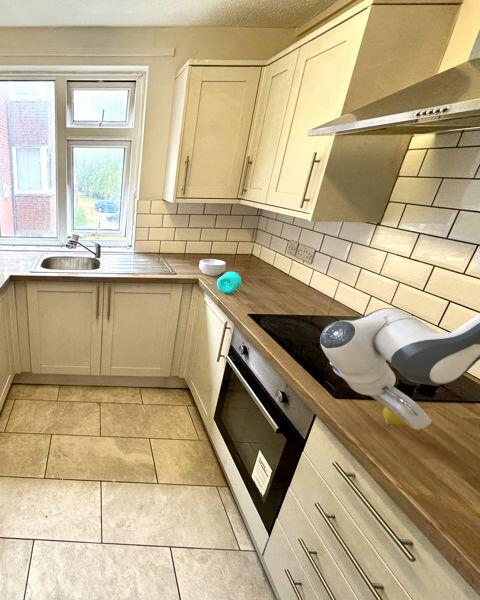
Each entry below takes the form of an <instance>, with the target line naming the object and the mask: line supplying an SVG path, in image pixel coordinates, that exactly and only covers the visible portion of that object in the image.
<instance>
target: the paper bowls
mask: <svg viewBox="0 0 480 600" xmlns="http://www.w3.org/2000/svg"><path fill="white" fill-rule="evenodd" d="M226 266H227V262H226V261H224V260H221V259H214V258H204V259H203V258H202V259H201V260H200V261H199V266H198V268H199V270H201V272H202V274H204V275H205V276H212V277H213V276H215V277H217V276H220V275H221V273H223V272H225V271H226Z"/></svg>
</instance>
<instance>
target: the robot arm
mask: <svg viewBox="0 0 480 600" xmlns="http://www.w3.org/2000/svg"><path fill="white" fill-rule="evenodd" d="M476 271H477V273H478V274H479V276H480V253H479V254H478V257H477V260H476ZM319 343H320V347H321V349H322V351H323V354H325V356H326V358H327V359H328V361H329V365H330V366H331V367H332V369H333V368H334V369H335V370H336V371H337V372H339V373H340V374H341V376H342V377H343V378H342V377H341V378H342V379H343V380H344V382H346V383H347V384H348V386H349V388H351V389H352V390H353V391H354V392H356V393H358V394H360V395H364V396H370V397H371V398H372V399H374V400H375V401H376V402H377V403H379V404H380V405H381V406H383V408H384V407H385V408H387V409H388V410H389V411H391V412H392V413H393V414H394V415H396V416H397V417H398V418H400V419H401V420H402V421H404V422H405V423H406V424H407V426H408V427H410V429H412V430H414V431H419V430H422V429H424V428H426V427H428V426H429V425H431V423H432V420H431V418H430V417H429V416H428V415H427V413H426V412H425V411H424V410H423V408H422V407H421V406H420V405H419V404H418V403H416V401H414V400H413V399H412V398H410V397H409V396H408V395H406V394H405V393H404V392H402V391H400V390H399V389H397V388H396V387H395V385H396V381H397V380H396V375H395V373H394V371H393V370H392V369H391V367H390V366H389V364H388V363H387V362H386V361H388V362H389V363H390V364H391V365H392V367H394V368H395V369H396V370H397V371H398V373H400V375H401V376H402V377H403V378H405V380H408V381H409V382H412V383H416V384H421V385H429V386H430V385H431V386H438V385H439V386H440V385H447V384H450V383H451V384H452V383H453V382H455V381H457V380H459V379H460V378H461V377H463V376H464V375H465V374H466V373H467V372H468V371H469V370H470V369H471V368H472V367H473V366H474V365H475V364H476V363H478V361H480V312H479V313H478V314H476V315H475V316H473V317H472V318H471V319H469V320H468V321H467V322H465V323H464V324H462V325H461V326H460V327H458V328H456V329H455V330H454V331H451V332H447V333H441V332H439V331H437V330H436V329H434V328H432V327H431V326H429V325H428V324H426V323H424V322H423V321H421V320H420V319H418V318H417V317H415V316H413V315H412V314H410V313H408V312H407V311H405V310H403V309H401V308H397V307H385V308H380V309H377V310H374V311H372V312H370V313H367V314H366V315H364V316H362V317H360V318H359V319H353V320H345V319H344V320H338V321H334V322H331V323H330V324H328V325H326V327H324V329H323V330H322V332H321V334H320V338H319Z"/></svg>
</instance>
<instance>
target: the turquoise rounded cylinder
mask: <svg viewBox="0 0 480 600" xmlns="http://www.w3.org/2000/svg"><path fill="white" fill-rule="evenodd" d="M216 285H217V288H218V290H219V291H220V292H222V293H223V294H232V293H234V292H235V291H236V290H237V289H239V288H240V287H241V285H242V277H241V275H240V274H239V273H237V272H235V271H227V272H226V273H224V274H223V275H221V276H220V277H219V278H218V279H217V282H216Z"/></svg>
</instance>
